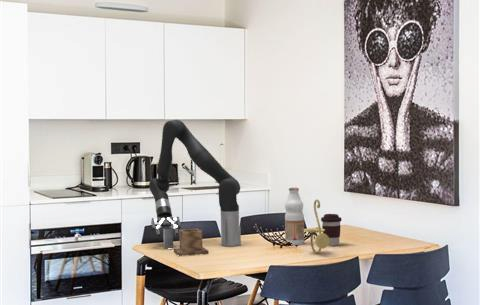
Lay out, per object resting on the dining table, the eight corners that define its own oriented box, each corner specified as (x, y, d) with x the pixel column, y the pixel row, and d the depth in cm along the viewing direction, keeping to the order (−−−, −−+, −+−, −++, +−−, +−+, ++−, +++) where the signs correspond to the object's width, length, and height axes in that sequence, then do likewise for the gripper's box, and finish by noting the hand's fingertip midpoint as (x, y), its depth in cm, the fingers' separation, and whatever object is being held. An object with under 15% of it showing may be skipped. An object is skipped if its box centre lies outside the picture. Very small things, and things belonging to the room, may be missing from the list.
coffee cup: (344, 243, 300) (343, 213, 300) (338, 247, 291) (338, 216, 291) (324, 242, 304) (324, 213, 304) (318, 246, 295) (318, 215, 295)
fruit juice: (284, 245, 300) (283, 188, 299) (286, 242, 309) (285, 187, 309) (303, 245, 298) (302, 188, 298) (305, 242, 307) (304, 187, 307)
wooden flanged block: (202, 249, 292) (202, 227, 292) (208, 253, 280) (208, 231, 280) (173, 251, 288) (173, 229, 288) (178, 256, 276) (178, 233, 276)
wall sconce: (332, 255, 270) (331, 199, 270) (312, 257, 268) (311, 200, 267) (320, 250, 284) (319, 197, 283) (301, 251, 281) (300, 198, 281)
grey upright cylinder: (171, 247, 299) (171, 227, 298) (173, 249, 295) (172, 228, 295) (163, 248, 298) (163, 228, 297) (165, 249, 294) (164, 229, 294)
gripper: (150, 205, 303) (154, 231, 292) (178, 204, 307) (183, 230, 296) (148, 215, 308) (152, 241, 297) (176, 213, 312) (181, 239, 301)
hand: (167, 235), depth 297 cm, fingers open, 8 cm apart
